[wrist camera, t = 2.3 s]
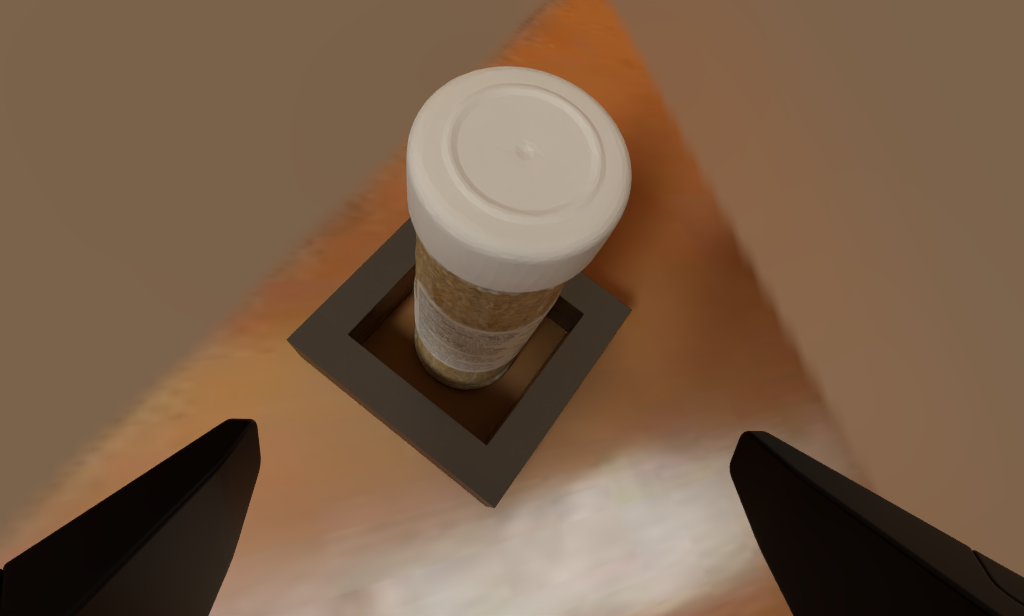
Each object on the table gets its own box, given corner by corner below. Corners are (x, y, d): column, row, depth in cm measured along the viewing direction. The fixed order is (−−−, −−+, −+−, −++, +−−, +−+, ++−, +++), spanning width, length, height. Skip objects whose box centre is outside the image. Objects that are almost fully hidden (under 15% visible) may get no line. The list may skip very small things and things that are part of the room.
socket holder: (485, 506, 20) (494, 508, 18) (301, 356, 21) (286, 339, 18) (611, 327, 24) (632, 309, 21) (449, 205, 24) (453, 175, 22)
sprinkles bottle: (460, 273, 23) (509, 20, 11) (537, 337, 23) (680, 151, 10) (390, 346, 22) (351, 144, 9) (471, 416, 21) (548, 306, 9)
